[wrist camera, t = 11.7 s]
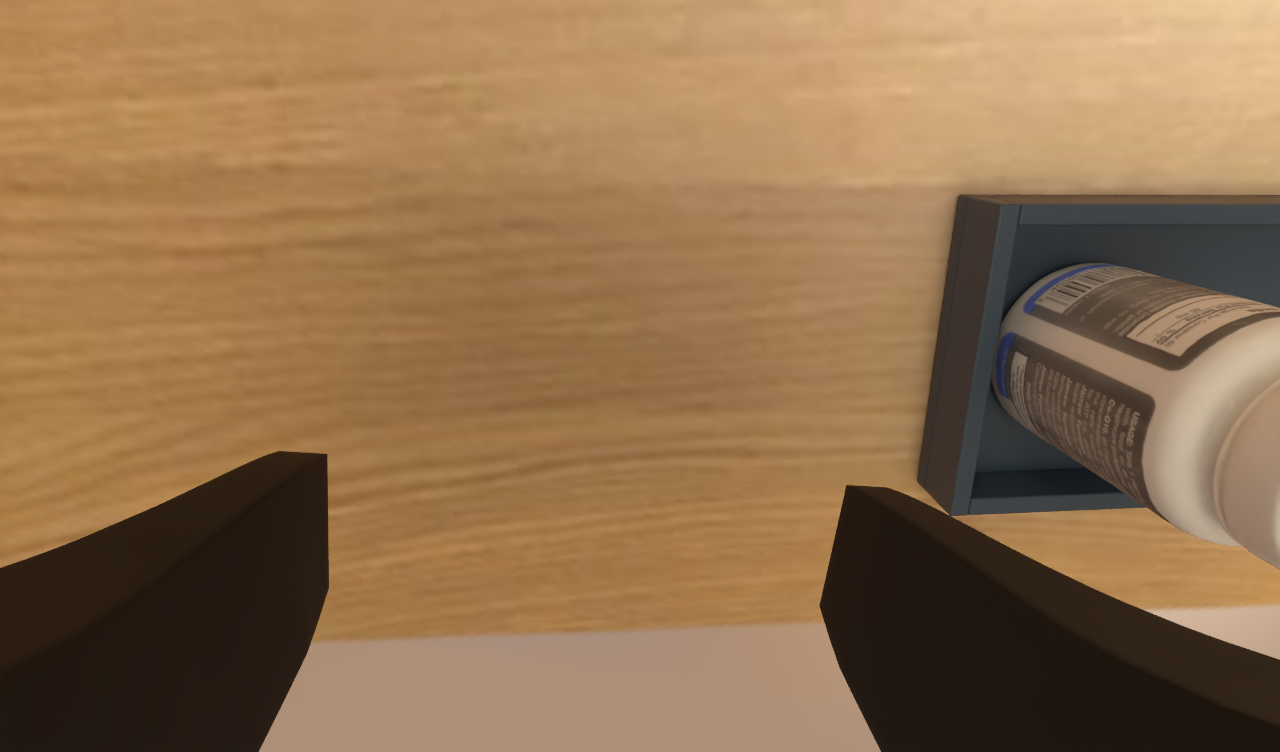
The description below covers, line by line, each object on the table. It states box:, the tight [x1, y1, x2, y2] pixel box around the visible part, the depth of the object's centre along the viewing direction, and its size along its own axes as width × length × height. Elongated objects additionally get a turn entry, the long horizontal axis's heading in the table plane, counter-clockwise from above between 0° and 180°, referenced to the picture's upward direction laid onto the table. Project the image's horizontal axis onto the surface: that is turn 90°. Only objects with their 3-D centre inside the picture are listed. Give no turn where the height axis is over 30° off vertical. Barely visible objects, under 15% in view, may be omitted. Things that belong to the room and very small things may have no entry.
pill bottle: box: [991, 263, 1280, 570], centre depth 17 cm, size 5×5×8 cm
